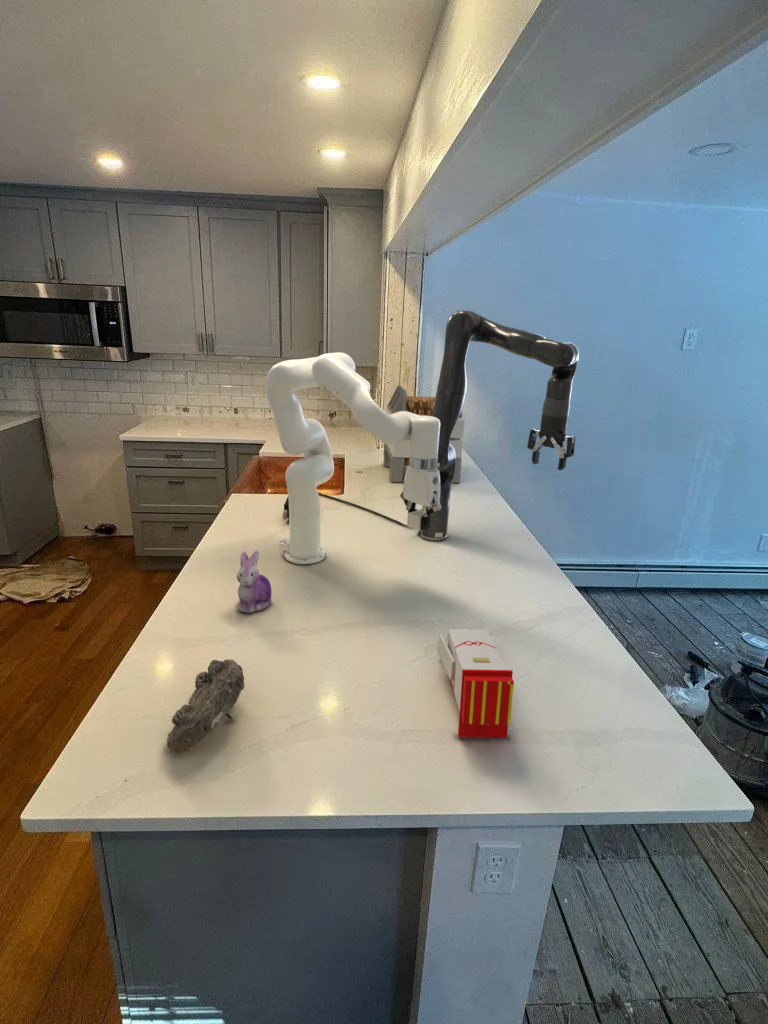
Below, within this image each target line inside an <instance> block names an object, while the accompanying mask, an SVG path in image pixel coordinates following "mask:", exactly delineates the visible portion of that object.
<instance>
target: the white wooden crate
mask: <svg viewBox="0 0 768 1024" xmlns="http://www.w3.org/2000/svg"><path fill="white" fill-rule="evenodd" d="M407 394H408V393H407V390H406V389H404V388H403V387H402V385H399V384H398V385H397V386H396V388H395V390H394V392H393V394H392V395H391V398H390V400H389V402H388V404H387V405H386V411H385V412H386V413H388V414H389V415H390V414H393V413H397V412H400V411H406V412H410V413H413V414H417V415H420V416H432V415H433V410H434V404H435V397H436V396H415V395H414V396H413V395H412V396H411V395H407ZM464 429H465V419H464V418H463V411H461V413H460V416H459V418H458V420H457V422H456V424H455V426H454V428H453V431H452V434H451V438H450V443H449V444H451V445H452V446H453V448H454V450H455V453H456V464H455V472H454V479H453V483H452V484H455V483H456V484H459V483H461V472H462V461H463V460H462V453H463V442H464V441H463V440H462V439H463V438H464V431H465V430H464ZM410 442H411V439H406V440H402V441H400V442H398V443H395V444H385V443H383V466H384V467H388V468H389V475H388V476H389V477H388V478H389V480H390V482H391V483H402V482H403V475H404V469H405V466H406V467H407V466H408V465H409V457H410Z"/></svg>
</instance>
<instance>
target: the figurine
mask: <svg viewBox="0 0 768 1024" xmlns="http://www.w3.org/2000/svg"><path fill="white" fill-rule="evenodd" d="M259 557H260V551H259V550H255V551H254V552H253V553H252V554H251V556H250V557H249V556H248V554H247V552H246V551H242V552H241V553H240V557H239V558H240V567H239V569H238V571H237V573H236V580H237V582H238V583H239V586H238V588H237V596H238V599H239V608H238V609H239V611H240V612H243V613H250V614H251V613H254V612H258V611H261V610H264V609H266V608H267V607H268V606H270V605H271V602H272V586H271V582H270V580H269V579H268V578H267V576H265V575H263V574H260V572H259V569H258V568H257V564H258V562H259Z"/></svg>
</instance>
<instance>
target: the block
mask: <svg viewBox="0 0 768 1024" xmlns="http://www.w3.org/2000/svg"><path fill="white" fill-rule="evenodd" d="M422 516H423V511H422V510H421V509H417V510H416V511H413V512H410V513H408V512H407V518H408V519H407V520H406V525H407V527H406V528H408V527H409V528H408V529H412V530H414V531H417V532H418V531H420V530H421V517H422Z"/></svg>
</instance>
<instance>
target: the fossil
mask: <svg viewBox="0 0 768 1024" xmlns="http://www.w3.org/2000/svg"><path fill="white" fill-rule="evenodd" d="M243 670H244V669H243V667H242V665H240V664H237V662H236V661H235V660H234V659H232V658H231V659H227V658H226V659H224V660H223V661H222V660H217V659H212V660H211V661H210V663H209V665H208V666H207V671H201V672H199V673H198V674H197V675H196V676H195V680H194V684H195V685H194V687H195V689H194V690H193V693H192V694H191V697H190V698H189V700H188V704H184V705H182V706H181V707H180V709H177V710H176V711H175V713H174V715H173V716H172V718H171V723H172V724H173V727H172V730H171V731H170V732H168V734H167V738H166V741H167V742H166V745H167V749H168V750H169V751H173V752H174V753H176V754H178V753H182V752H188V751H189V752H192V751H193V750H195V748H196V747H197V746H199V744H200V743H201V742H203V741H204V740H205V739H206V738H207V737H208V736H209V735H210V734H211V733H212V732H214V730H215V729H217V727H218V726H219V724H220V722H221V721H222V720H223V719H224V718H225V716H226V717H227V719H229V720H233V717H232V715H230V714H229V710H230V709H231V708H234V706H235V704H236V703H237V702H238V699H239V697H240V695H241V693H242V691H243V690H245V689H244V688H245V675H244V671H243Z"/></svg>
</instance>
